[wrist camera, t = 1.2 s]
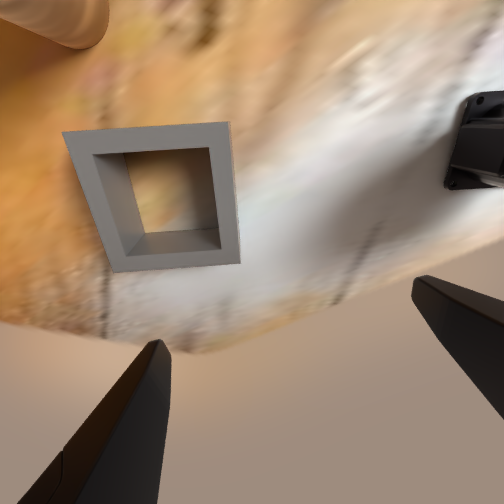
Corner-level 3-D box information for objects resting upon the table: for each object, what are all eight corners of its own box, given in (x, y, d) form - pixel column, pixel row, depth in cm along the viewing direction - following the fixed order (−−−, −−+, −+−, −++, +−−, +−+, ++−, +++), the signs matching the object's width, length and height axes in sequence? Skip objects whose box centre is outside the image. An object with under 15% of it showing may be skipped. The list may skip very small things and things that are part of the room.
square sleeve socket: (230, 121, 17) (228, 121, 14) (240, 239, 21) (240, 263, 18) (98, 129, 17) (61, 131, 13) (134, 247, 21) (113, 272, 18)
